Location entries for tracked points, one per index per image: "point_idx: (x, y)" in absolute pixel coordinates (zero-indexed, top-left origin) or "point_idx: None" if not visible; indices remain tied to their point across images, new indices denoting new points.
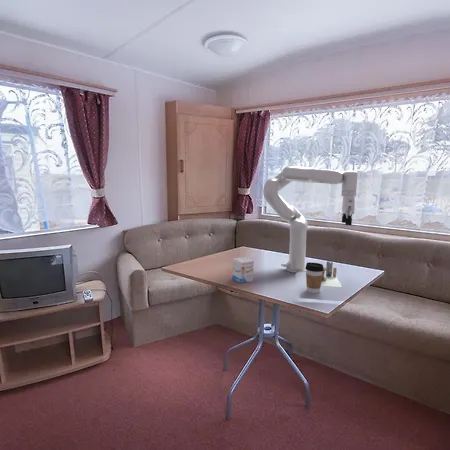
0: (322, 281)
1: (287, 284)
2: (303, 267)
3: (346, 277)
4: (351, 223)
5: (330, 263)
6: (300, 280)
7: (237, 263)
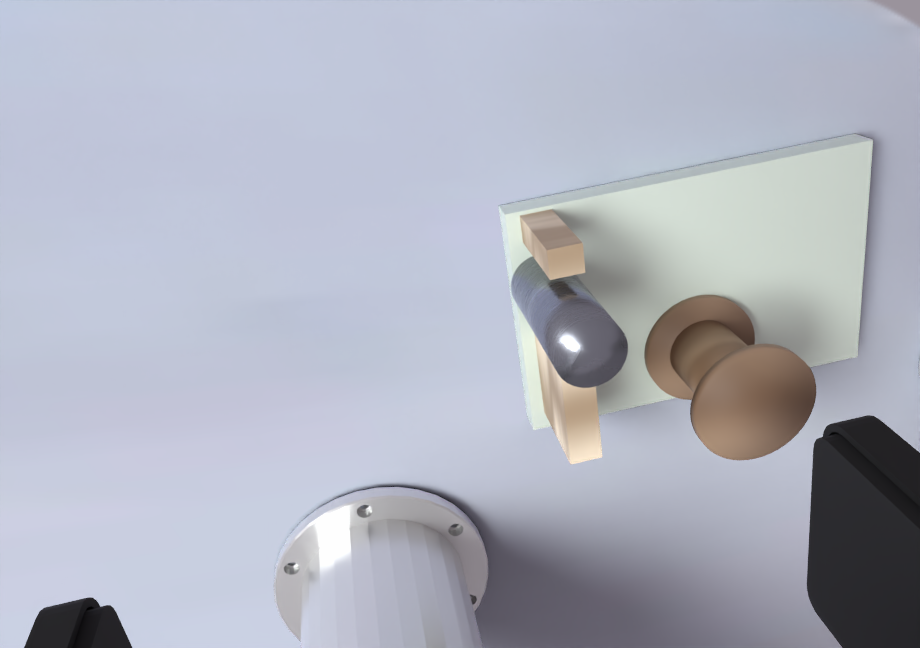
0: (749, 323)
1: (791, 545)
2: (423, 543)
3: (428, 83)
4: (913, 452)
5: (623, 337)
6: (671, 485)
7: None
